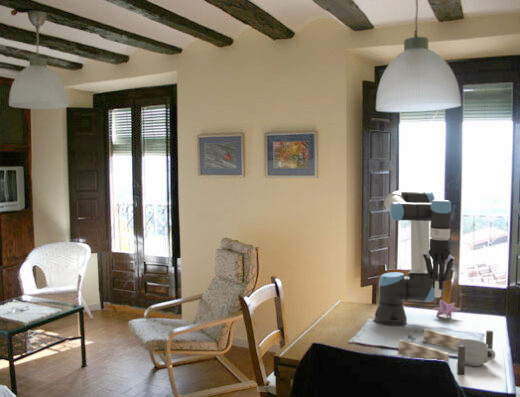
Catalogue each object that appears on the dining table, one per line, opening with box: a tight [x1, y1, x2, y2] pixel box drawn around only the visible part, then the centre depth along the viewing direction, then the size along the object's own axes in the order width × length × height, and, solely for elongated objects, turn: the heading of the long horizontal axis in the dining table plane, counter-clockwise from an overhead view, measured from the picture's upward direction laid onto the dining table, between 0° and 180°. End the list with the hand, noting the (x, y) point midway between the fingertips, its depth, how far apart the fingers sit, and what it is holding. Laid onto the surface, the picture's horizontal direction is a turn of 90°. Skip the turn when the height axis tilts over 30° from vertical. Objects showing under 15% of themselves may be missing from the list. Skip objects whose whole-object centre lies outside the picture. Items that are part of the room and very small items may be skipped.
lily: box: [432, 299, 461, 320], centre depth 241 cm, size 12×12×10 cm
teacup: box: [456, 338, 496, 367], centre depth 183 cm, size 14×11×8 cm
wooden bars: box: [397, 328, 494, 376], centre depth 192 cm, size 27×27×10 cm
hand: (437, 296), depth 195 cm, fingers closed
